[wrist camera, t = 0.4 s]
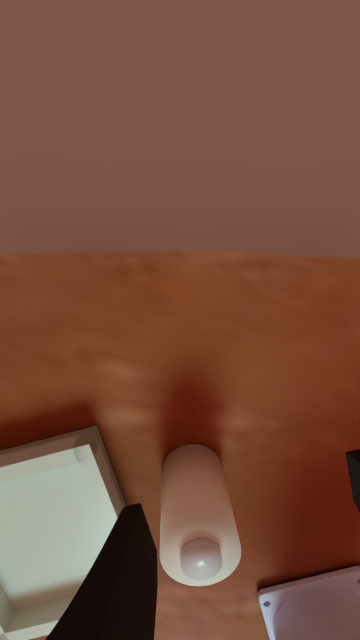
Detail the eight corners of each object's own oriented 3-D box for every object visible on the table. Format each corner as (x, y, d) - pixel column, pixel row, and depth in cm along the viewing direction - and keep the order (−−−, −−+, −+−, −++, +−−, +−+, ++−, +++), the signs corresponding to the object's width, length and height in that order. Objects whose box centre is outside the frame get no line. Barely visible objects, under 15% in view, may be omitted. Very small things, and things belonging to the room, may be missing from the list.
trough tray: (153, 579, 24) (152, 609, 22) (10, 614, 24) (-4, 647, 22) (96, 425, 21) (89, 444, 19) (-67, 468, 21) (-91, 491, 19)
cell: (227, 487, 22) (251, 585, 16) (171, 502, 22) (172, 604, 16) (213, 437, 21) (233, 520, 15) (155, 452, 21) (149, 541, 15)
